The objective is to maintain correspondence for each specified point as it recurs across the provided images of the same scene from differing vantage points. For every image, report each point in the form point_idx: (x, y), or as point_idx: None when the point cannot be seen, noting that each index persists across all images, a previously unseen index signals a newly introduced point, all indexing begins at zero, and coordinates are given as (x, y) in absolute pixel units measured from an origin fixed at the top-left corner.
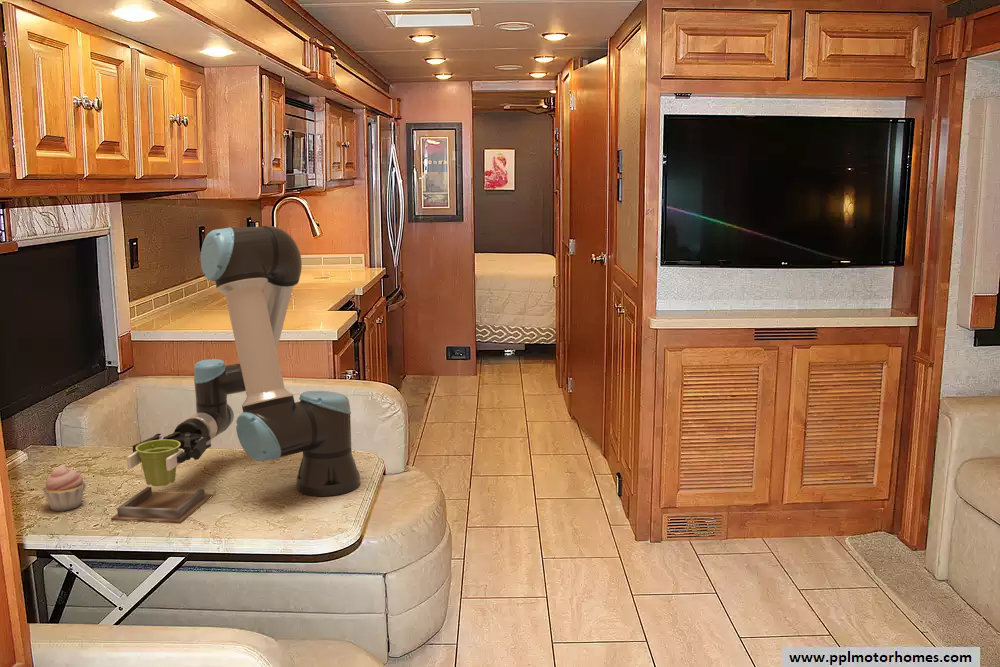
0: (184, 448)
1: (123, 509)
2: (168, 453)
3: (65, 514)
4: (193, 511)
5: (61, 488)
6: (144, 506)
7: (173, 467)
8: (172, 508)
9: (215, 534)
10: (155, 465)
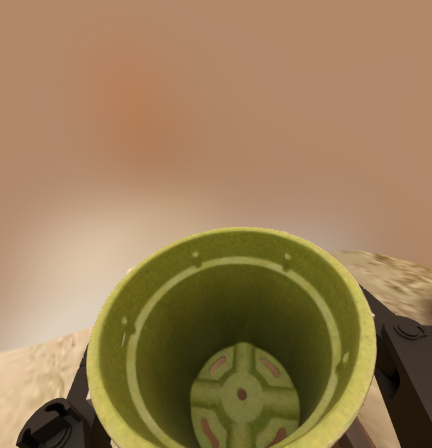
0: (71, 406)
1: None
2: (143, 285)
3: (409, 304)
4: None
5: None
6: None
7: None
8: (202, 422)
9: (63, 340)
10: (201, 290)
